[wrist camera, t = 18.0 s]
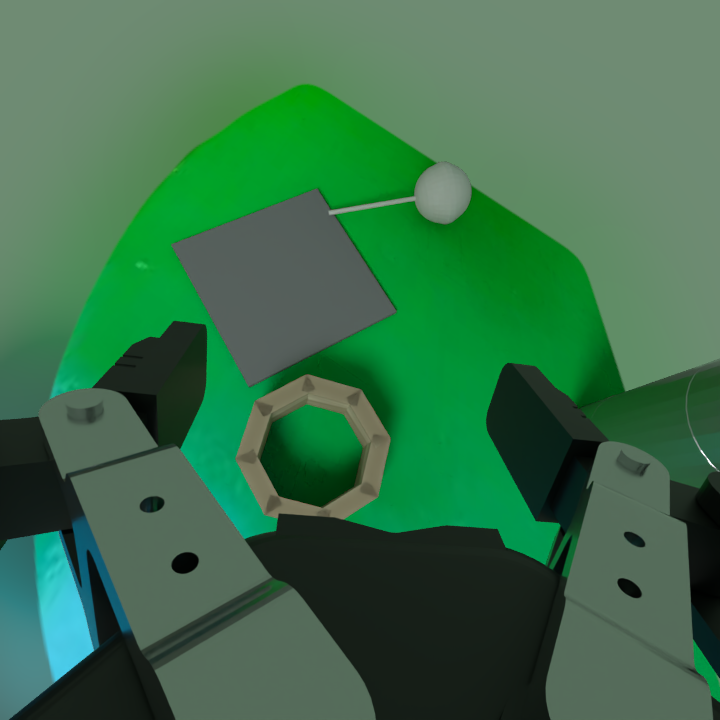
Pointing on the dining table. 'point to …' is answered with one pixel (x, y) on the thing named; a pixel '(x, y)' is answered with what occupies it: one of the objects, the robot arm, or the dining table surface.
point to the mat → (282, 284)
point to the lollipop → (433, 194)
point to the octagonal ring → (327, 398)
